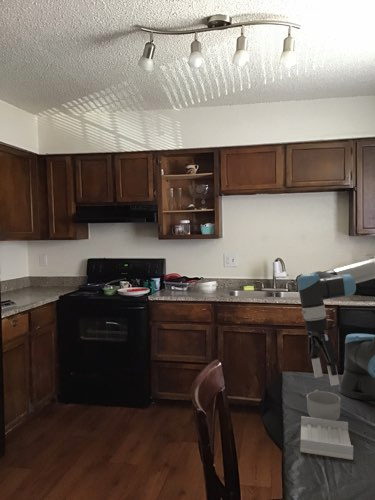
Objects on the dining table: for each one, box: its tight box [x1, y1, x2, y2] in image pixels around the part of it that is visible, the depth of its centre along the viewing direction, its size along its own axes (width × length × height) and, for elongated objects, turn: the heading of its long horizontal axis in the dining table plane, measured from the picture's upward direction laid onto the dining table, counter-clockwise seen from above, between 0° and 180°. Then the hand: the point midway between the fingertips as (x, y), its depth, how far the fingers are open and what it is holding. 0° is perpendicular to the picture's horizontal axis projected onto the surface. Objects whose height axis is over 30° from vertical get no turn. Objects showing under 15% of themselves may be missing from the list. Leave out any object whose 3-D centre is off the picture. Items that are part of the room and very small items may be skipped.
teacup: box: [306, 389, 342, 421], centre depth 143 cm, size 14×11×8 cm
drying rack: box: [299, 415, 354, 460], centre depth 127 cm, size 16×14×4 cm
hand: (326, 380), depth 146 cm, fingers open, 13 cm apart
